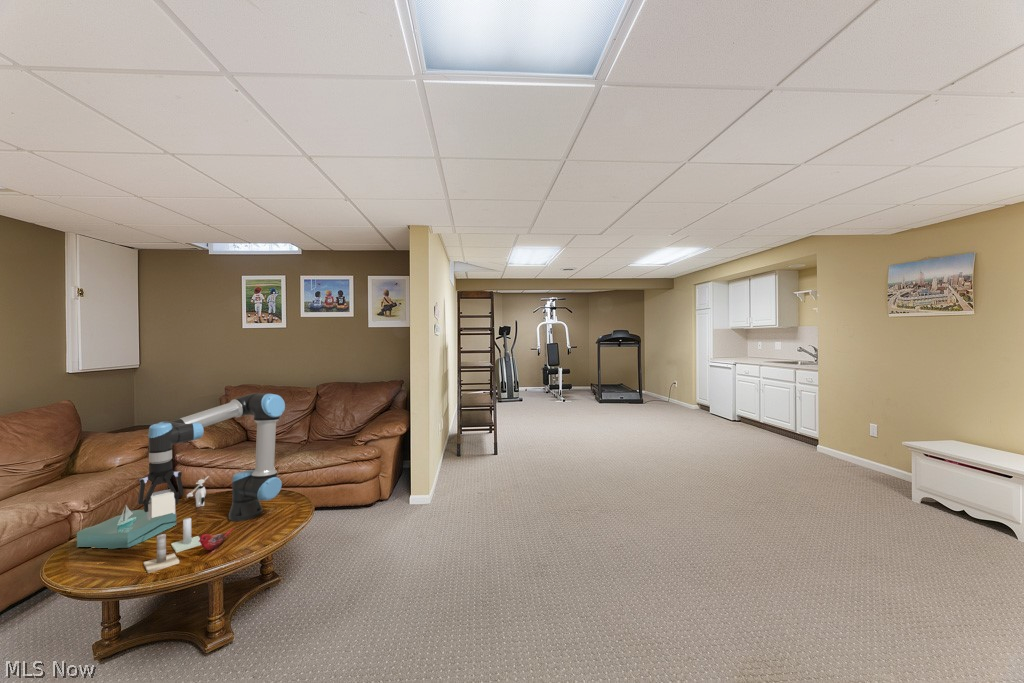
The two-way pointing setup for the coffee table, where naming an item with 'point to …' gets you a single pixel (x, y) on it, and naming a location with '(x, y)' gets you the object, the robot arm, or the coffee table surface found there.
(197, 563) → the coffee table surface
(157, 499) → the white drawer box
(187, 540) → the post
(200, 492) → the cricket player figurine
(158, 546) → the post
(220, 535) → the decorative bird figurine
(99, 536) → the sailboat water diorama
